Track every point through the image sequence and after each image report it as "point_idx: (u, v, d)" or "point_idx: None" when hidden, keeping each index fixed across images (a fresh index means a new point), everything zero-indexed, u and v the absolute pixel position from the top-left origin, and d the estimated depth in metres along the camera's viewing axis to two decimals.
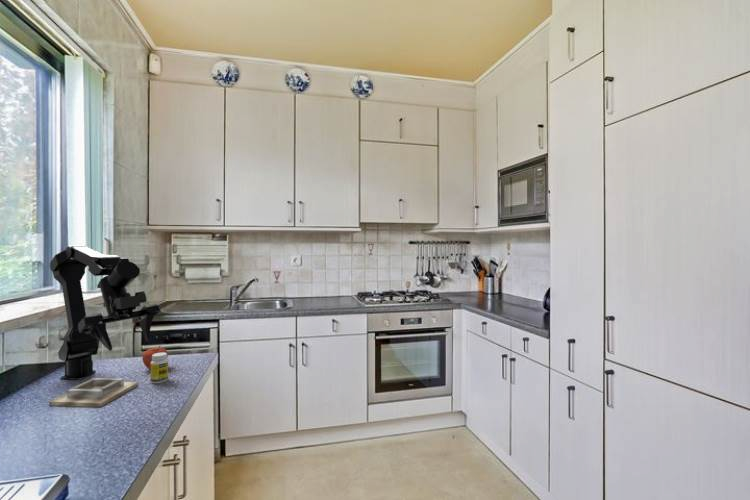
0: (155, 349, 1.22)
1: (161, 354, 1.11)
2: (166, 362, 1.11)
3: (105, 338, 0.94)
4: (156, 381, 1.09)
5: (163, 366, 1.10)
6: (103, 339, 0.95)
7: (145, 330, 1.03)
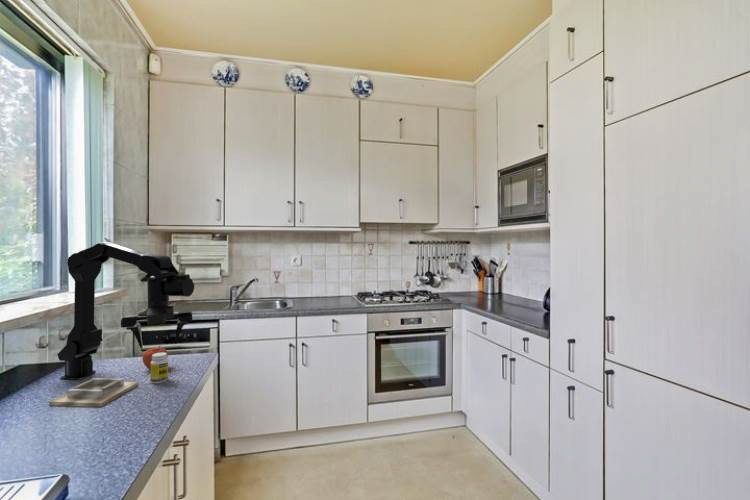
0: (155, 349, 1.22)
1: (161, 354, 1.11)
2: (166, 362, 1.11)
3: (137, 338, 1.07)
4: (156, 381, 1.09)
5: (163, 366, 1.10)
6: None
7: None
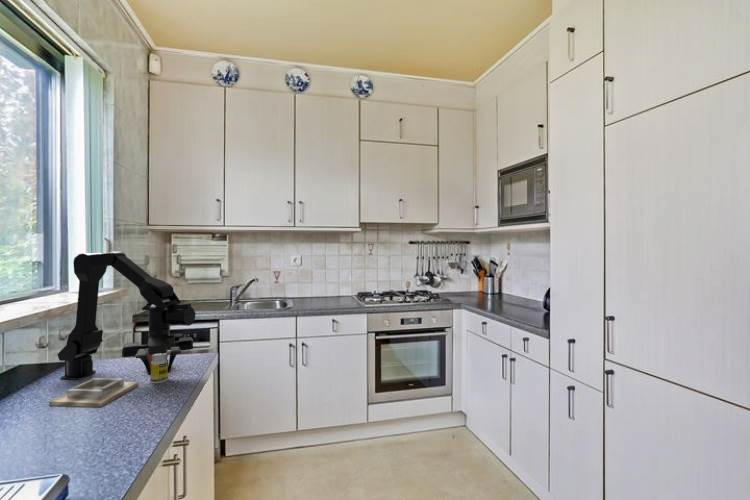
0: None
1: (161, 354, 1.11)
2: (166, 362, 1.11)
3: (146, 366, 1.09)
4: (156, 381, 1.09)
5: (163, 366, 1.10)
6: None
7: None
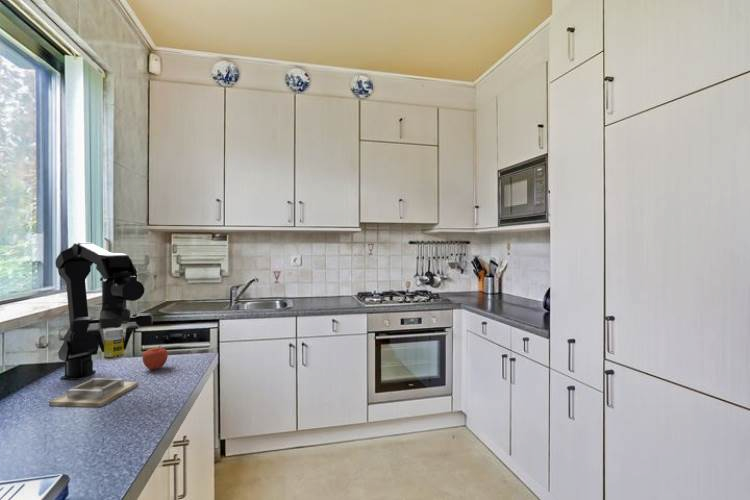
0: (155, 349, 1.22)
1: (116, 329, 1.03)
2: (122, 338, 1.03)
3: (98, 342, 1.01)
4: (110, 358, 1.01)
5: (118, 342, 1.02)
6: None
7: None
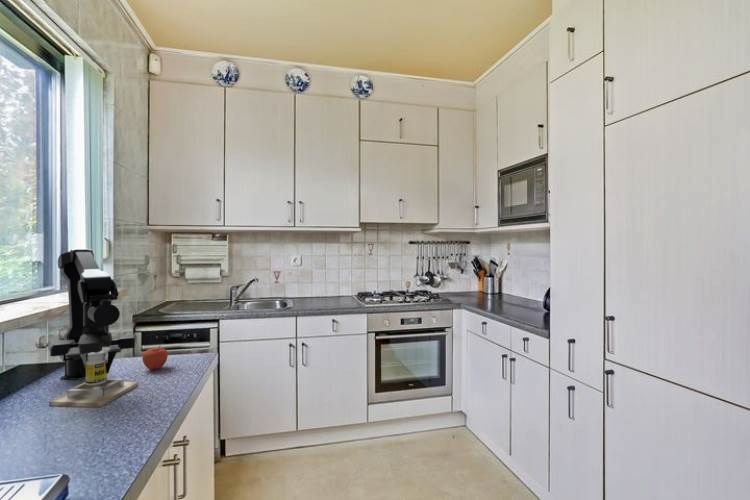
0: (155, 349, 1.22)
1: (98, 353, 1.00)
2: (104, 362, 1.00)
3: (80, 366, 0.98)
4: (91, 383, 0.98)
5: (99, 366, 0.99)
6: None
7: (107, 362, 1.01)
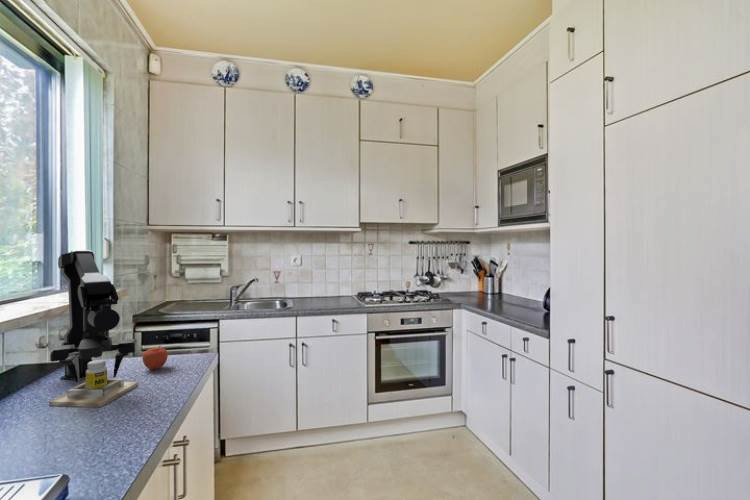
0: (155, 349, 1.22)
1: (98, 362, 1.00)
2: (104, 370, 1.00)
3: (72, 372, 0.97)
4: None
5: (99, 375, 0.99)
6: None
7: None
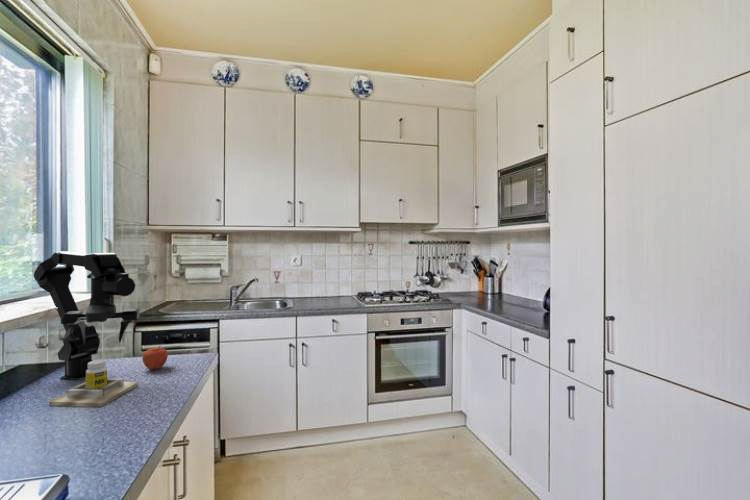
0: (155, 349, 1.22)
1: (98, 362, 1.00)
2: (104, 370, 1.00)
3: (78, 335, 1.07)
4: None
5: (99, 375, 0.99)
6: None
7: (120, 332, 1.12)
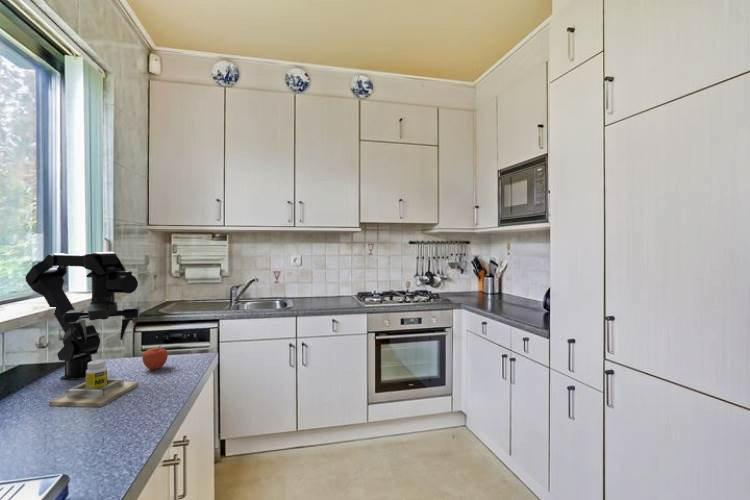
0: (155, 349, 1.22)
1: (98, 362, 1.00)
2: (104, 370, 1.00)
3: (80, 334, 1.08)
4: None
5: (99, 375, 0.99)
6: None
7: (121, 330, 1.13)
